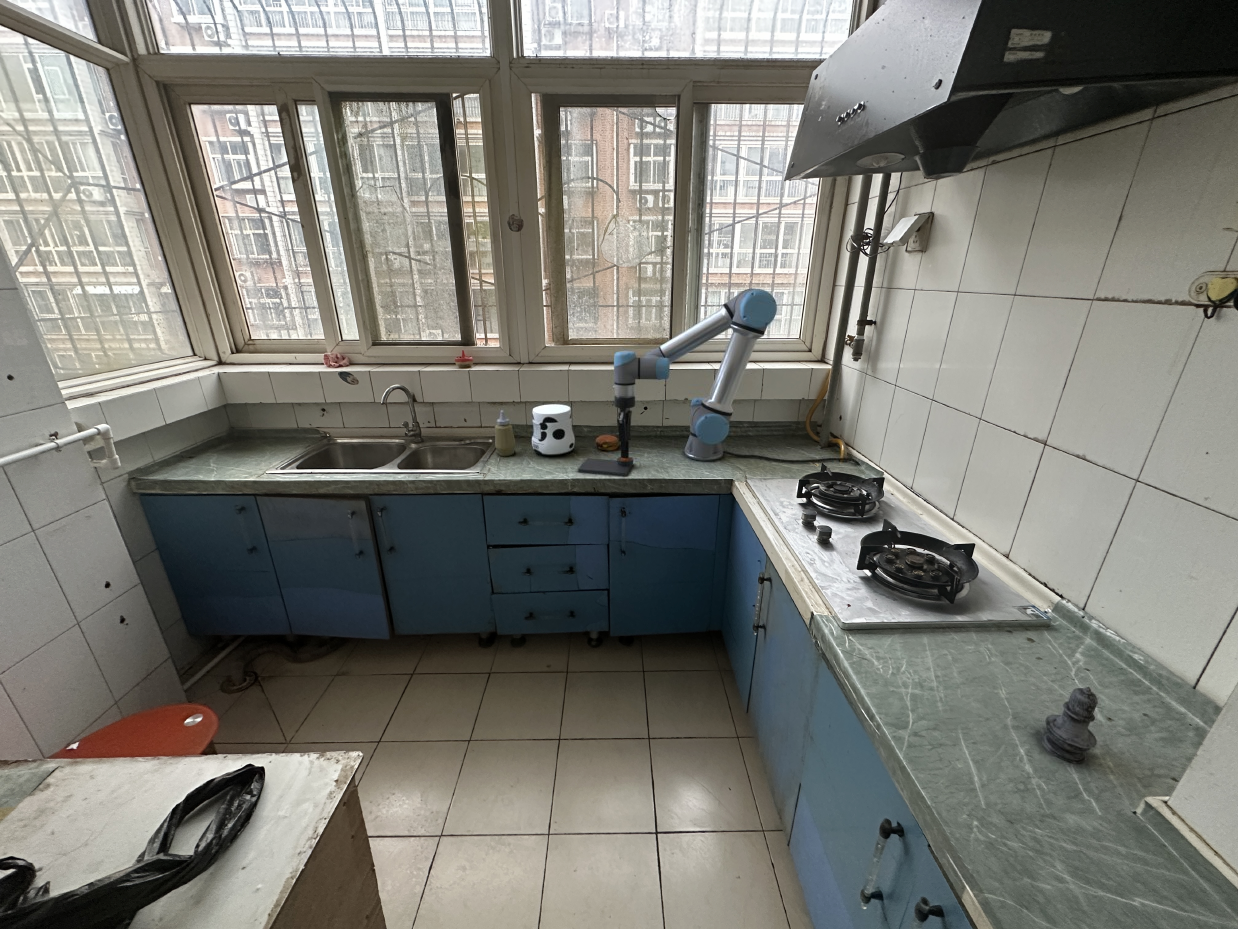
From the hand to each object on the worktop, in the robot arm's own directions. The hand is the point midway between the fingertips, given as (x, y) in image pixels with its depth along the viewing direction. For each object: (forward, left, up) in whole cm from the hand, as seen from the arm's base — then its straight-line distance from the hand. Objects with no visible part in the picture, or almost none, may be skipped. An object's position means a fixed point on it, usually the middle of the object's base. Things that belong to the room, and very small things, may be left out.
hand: (624, 457), depth 187 cm
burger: (+12, -20, -4) cm, 23 cm away
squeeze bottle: (+50, -3, -4) cm, 51 cm away
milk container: (+32, -10, -4) cm, 34 cm away
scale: (+6, +3, -4) cm, 8 cm away
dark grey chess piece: (-94, +99, -4) cm, 137 cm away
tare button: (0, 0, -2) cm, 2 cm away
